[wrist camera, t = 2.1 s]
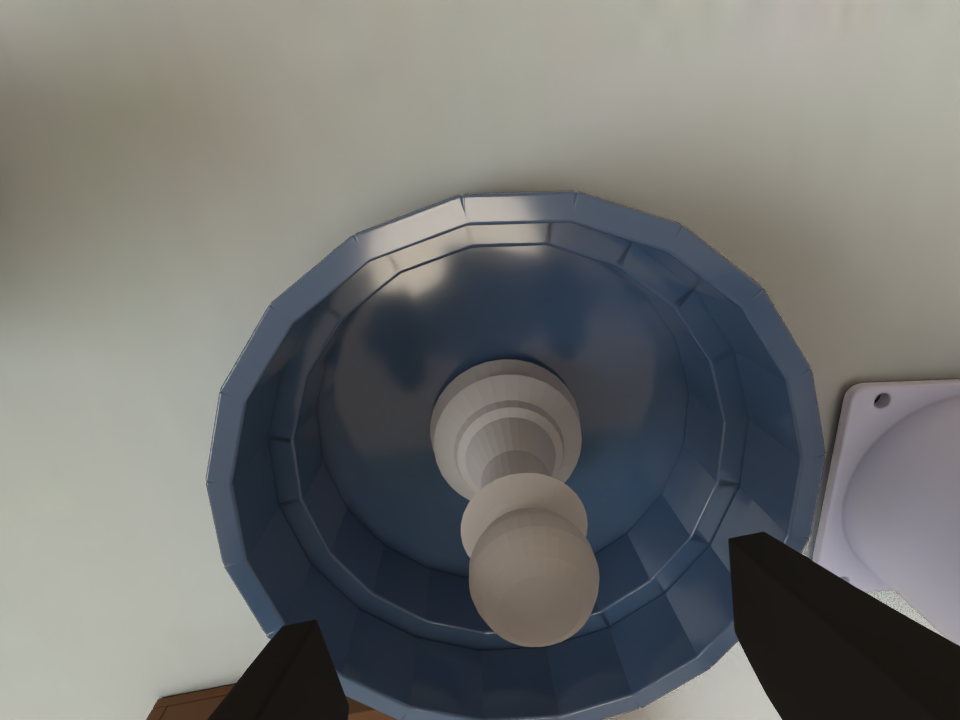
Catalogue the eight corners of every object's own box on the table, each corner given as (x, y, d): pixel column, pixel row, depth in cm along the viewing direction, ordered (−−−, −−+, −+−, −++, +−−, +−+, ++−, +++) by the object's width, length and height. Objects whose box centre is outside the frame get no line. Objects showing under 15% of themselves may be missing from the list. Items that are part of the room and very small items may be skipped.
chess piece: (520, 325, 16) (577, 448, 8) (606, 437, 17) (726, 636, 9) (399, 415, 16) (347, 606, 9) (490, 516, 18) (513, 760, 10)
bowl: (746, 186, 15) (880, 182, 10) (698, 591, 19) (776, 721, 14) (248, 200, 15) (144, 202, 10) (311, 610, 19) (260, 749, 14)
